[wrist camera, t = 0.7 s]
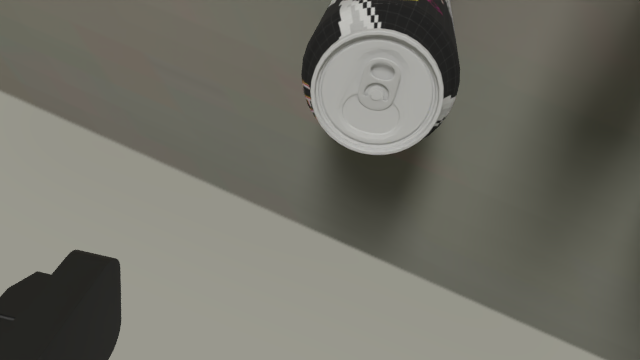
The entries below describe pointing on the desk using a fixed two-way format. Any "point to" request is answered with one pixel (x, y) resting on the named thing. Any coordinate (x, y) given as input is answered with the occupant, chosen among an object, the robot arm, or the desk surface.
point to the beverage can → (382, 72)
